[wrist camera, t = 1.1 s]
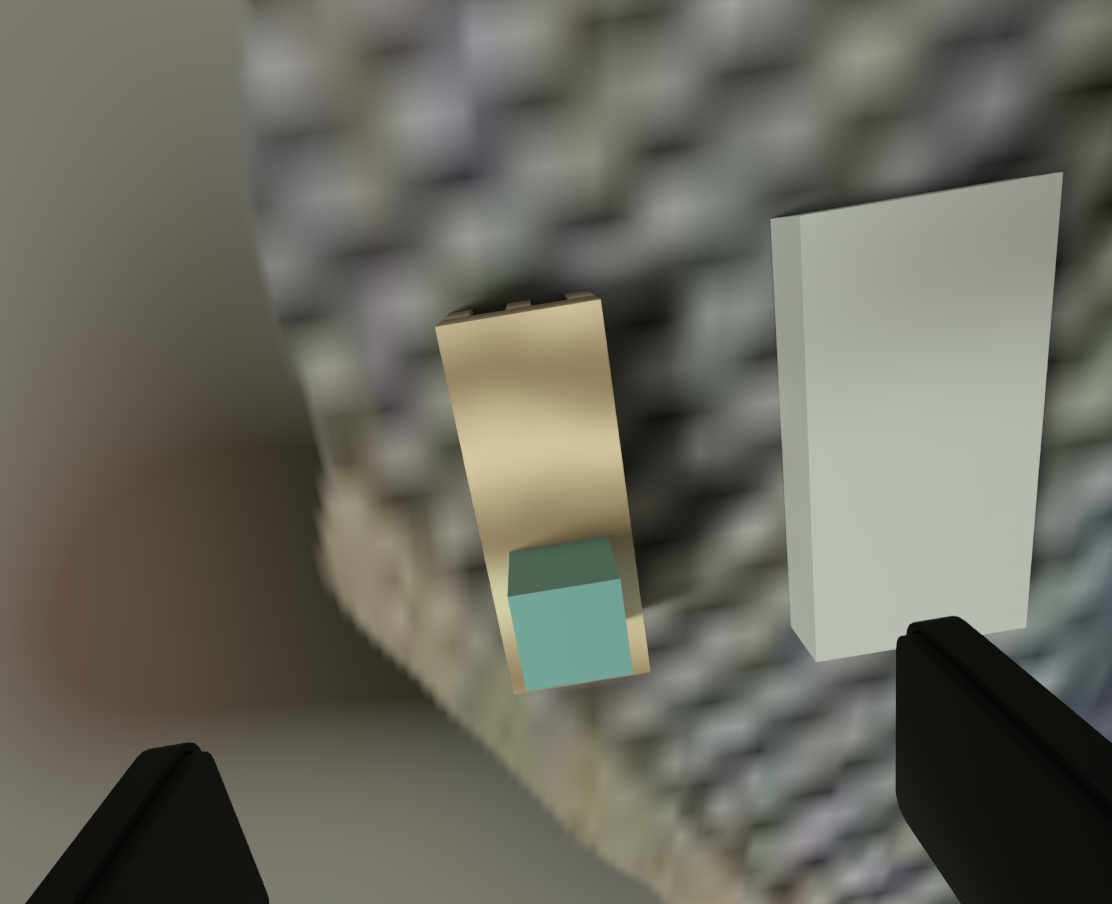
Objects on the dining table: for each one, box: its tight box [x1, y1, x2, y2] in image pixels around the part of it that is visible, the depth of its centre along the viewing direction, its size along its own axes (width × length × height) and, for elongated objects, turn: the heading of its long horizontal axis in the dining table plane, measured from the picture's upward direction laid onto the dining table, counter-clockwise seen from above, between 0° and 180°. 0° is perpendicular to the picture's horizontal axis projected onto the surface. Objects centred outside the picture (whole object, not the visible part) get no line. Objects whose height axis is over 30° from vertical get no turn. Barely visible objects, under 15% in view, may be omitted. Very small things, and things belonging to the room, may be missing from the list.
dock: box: [770, 172, 1063, 662], centre depth 29 cm, size 20×10×3 cm, turn 9°
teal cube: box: [507, 536, 633, 691], centre depth 25 cm, size 4×4×4 cm
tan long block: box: [435, 290, 650, 695], centre depth 28 cm, size 16×6×5 cm, turn 9°
